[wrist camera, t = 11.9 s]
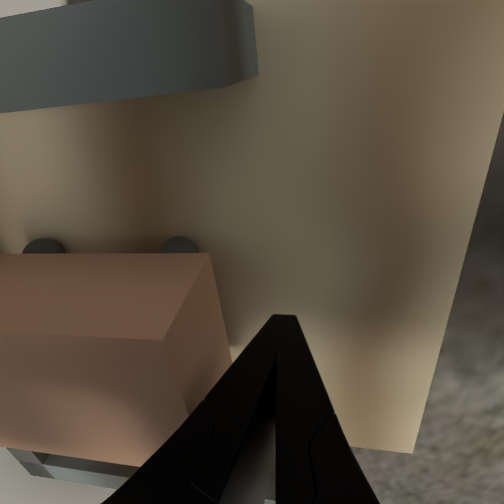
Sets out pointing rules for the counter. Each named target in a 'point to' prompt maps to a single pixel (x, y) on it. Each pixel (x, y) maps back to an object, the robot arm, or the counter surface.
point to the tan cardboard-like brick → (106, 348)
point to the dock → (266, 171)
